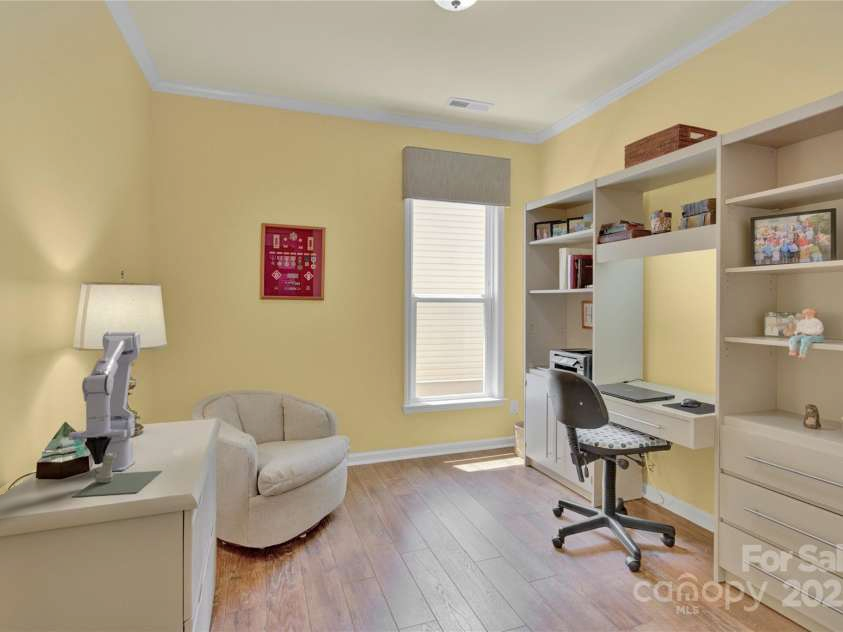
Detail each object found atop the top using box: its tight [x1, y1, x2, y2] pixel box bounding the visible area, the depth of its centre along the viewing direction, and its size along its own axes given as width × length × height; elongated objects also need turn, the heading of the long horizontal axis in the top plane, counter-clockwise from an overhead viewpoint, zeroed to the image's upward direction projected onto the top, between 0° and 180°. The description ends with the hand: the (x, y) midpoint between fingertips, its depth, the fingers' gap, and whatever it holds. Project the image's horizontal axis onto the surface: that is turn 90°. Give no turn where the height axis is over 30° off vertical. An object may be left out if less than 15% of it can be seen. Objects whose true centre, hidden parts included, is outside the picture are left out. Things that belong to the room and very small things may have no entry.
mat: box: [71, 470, 163, 498], centre depth 137 cm, size 18×16×1 cm
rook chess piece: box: [94, 452, 116, 483], centre depth 137 cm, size 4×4×8 cm
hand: (98, 463), depth 137 cm, fingers closed
